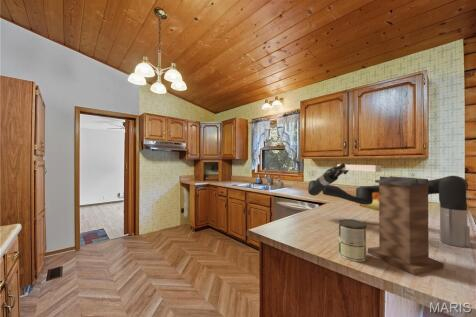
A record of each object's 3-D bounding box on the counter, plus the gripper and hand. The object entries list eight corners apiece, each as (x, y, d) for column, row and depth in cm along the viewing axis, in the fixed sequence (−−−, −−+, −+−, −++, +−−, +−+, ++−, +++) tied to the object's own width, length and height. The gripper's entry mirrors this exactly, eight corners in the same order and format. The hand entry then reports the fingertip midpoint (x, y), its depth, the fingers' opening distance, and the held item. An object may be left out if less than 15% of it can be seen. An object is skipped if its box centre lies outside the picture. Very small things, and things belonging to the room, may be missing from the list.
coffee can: (334, 250, 91) (334, 219, 91) (356, 250, 91) (356, 219, 92) (347, 262, 81) (347, 226, 81) (372, 261, 81) (372, 226, 81)
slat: (337, 169, 119) (337, 164, 119) (342, 169, 120) (342, 164, 120) (375, 171, 96) (375, 165, 96) (381, 171, 97) (381, 165, 97)
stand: (367, 252, 89) (367, 176, 89) (394, 248, 94) (394, 175, 94) (413, 274, 72) (412, 180, 72) (443, 268, 76) (443, 179, 77)
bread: (397, 211, 163) (397, 193, 164) (385, 212, 160) (385, 194, 160) (369, 205, 187) (369, 189, 188) (359, 206, 184) (359, 189, 184)
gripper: (339, 183, 128) (359, 170, 114) (320, 183, 124) (339, 170, 110) (335, 172, 132) (354, 159, 118) (316, 172, 128) (334, 158, 114)
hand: (347, 164), depth 114 cm, fingers closed on slat, 3 cm apart
